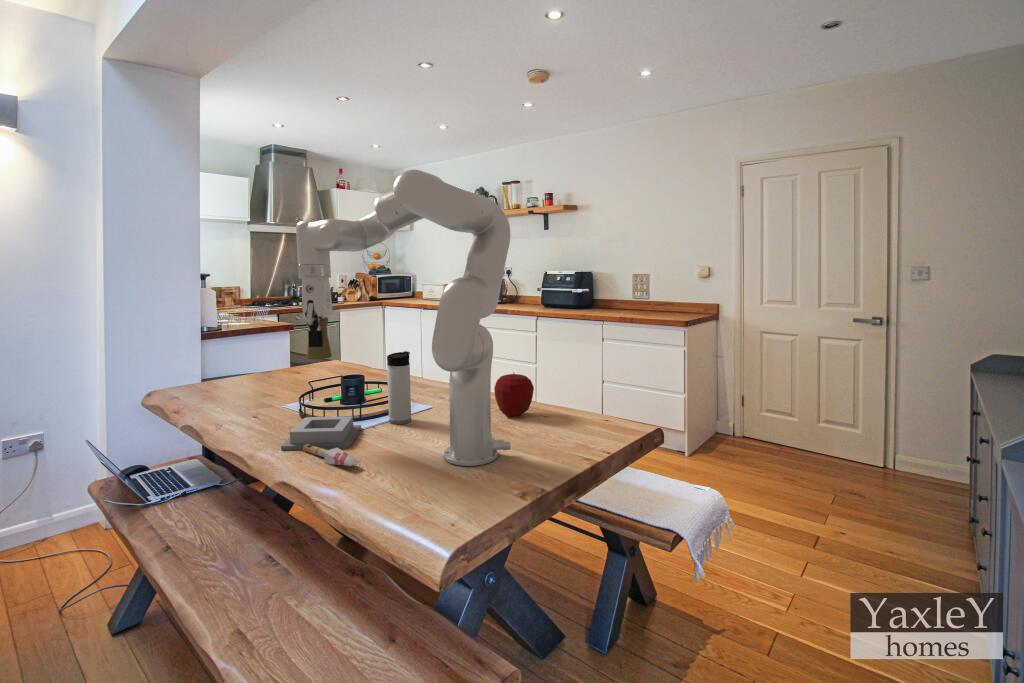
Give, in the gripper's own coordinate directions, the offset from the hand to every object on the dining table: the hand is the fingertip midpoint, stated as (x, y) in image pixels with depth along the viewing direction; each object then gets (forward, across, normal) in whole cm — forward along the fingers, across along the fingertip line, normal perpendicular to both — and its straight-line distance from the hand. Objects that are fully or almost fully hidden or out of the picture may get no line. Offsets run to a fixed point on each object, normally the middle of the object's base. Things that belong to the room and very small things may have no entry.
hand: (318, 344), depth 135 cm
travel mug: (+25, +14, -18) cm, 34 cm away
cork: (+4, 0, 0) cm, 4 cm away
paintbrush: (+25, -15, -6) cm, 30 cm away
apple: (+25, +17, -51) cm, 59 cm away
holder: (+25, 0, 0) cm, 25 cm away
